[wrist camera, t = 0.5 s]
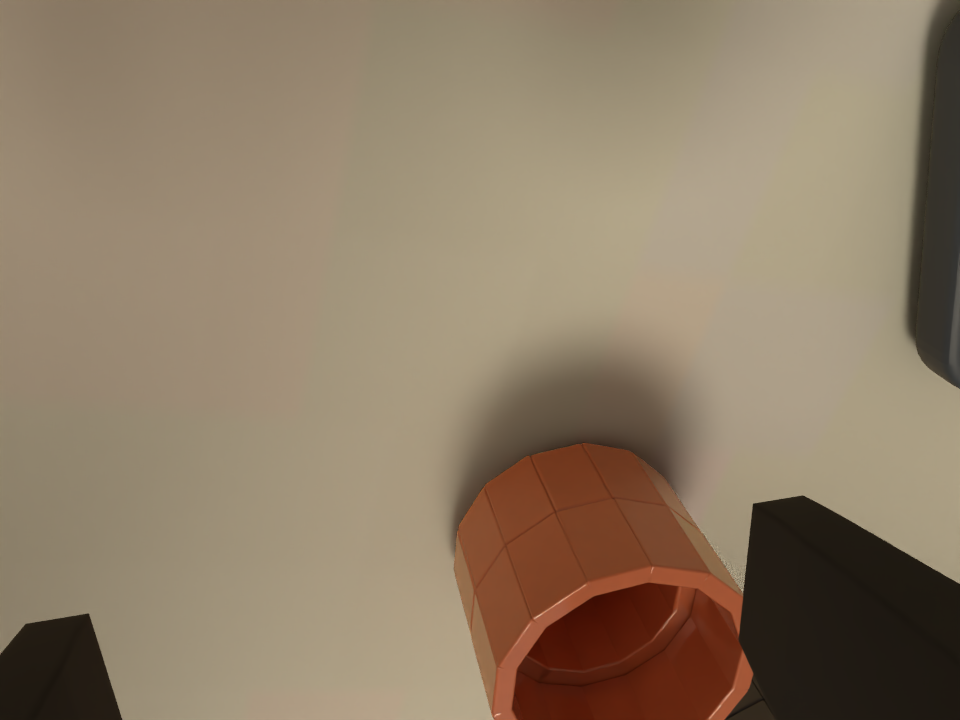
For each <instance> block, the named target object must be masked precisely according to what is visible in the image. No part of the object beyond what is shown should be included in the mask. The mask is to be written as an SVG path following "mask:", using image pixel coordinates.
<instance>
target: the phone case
mask: <svg viewBox="0 0 960 720" xmlns="http://www.w3.org/2000/svg"><path fill="white" fill-rule="evenodd" d="M916 347H917V351H918V354H919V356H920V358H921V360H922V361H923V362H924V364H925V365H926V366H927V367H928V368H929V369H930V370H932V371H933V372H935V373H936V374H938V375H939V376H941V377H942V378H944V379H945V380H946V381H948V382H949V383H951V384H952V385H954V386H956V387H958V388H959V389H960V10H959V11H958V12H957V14H956V15H955V17H954V18H953V20H952V21H951V22H950V24H949V26H948V28H947V30H946V32H945V34H944V36H943V39H942V42H941V45H940V49H939V54H938V60H937V70H936V83H935V95H934V108H933V120H932V133H931V146H930V158H929V171H928V184H927V196H926V209H925V221H924V234H923V247H922V259H921V272H920V285H919V297H918V310H917V322H916Z"/></svg>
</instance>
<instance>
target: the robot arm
mask: <svg viewBox="0 0 960 720" xmlns="http://www.w3.org/2000/svg"><path fill="white" fill-rule="evenodd" d="M738 641H739V643H740V645H741V647H742V649H743V652H744V654H745V656H746V658H747V661H748V663H749V665H750V667H751V670H752V672H753V674H754V676H755V678H756V681H757V683H758V685H759V687H760V689H761V691H762V693H763V695H764V697H765V700H766V702H767V704H768V706H769V708H770V710H771V712H772V714H773V716H774V718H775V720H960V584H959V583H957V582H955V581H953V580H952V579H950V578H948V577H946V576H945V575H943V574H941V573H939V572H938V571H936V570H934V569H932V568H931V567H929V566H927V565H925V564H924V563H922V562H920V561H918V560H917V559H915V558H913V557H911V556H910V555H908V554H906V553H905V552H903V551H901V550H899V549H898V548H896V547H894V546H893V545H891V544H889V543H887V542H886V541H884V540H882V539H880V538H879V537H877V536H875V535H874V534H872V533H870V532H868V531H867V530H865V529H863V528H861V527H860V526H858V525H856V524H855V523H853V522H851V521H849V520H848V519H846V518H844V517H842V516H840V515H839V514H837V513H835V512H833V511H832V510H830V509H828V508H826V507H824V506H822V505H821V504H819V503H817V502H815V501H813V500H811V499H809V498H807V497H805V496H797V497H791V498H785V499H779V500H773V501H767V502H761V503H755V504H753V510H752V519H751V528H750V537H749V547H748V556H747V565H746V574H745V584H744V593H743V602H742V612H741V621H740V630H739V639H738ZM0 720H122V718H121V715H120V711H119V708H118V705H117V702H116V699H115V695H114V692H113V689H112V686H111V683H110V679H109V676H108V673H107V670H106V667H105V664H104V660H103V657H102V654H101V651H100V648H99V644H98V641H97V638H96V635H95V632H94V628H93V625H92V622H91V619H90V616H89V614H83V615H77V616H71V617H65V618H59V619H53V620H47V621H41V622H34V623H28V624H25V625H24V627H23V628H22V629H21V630H20V631H19V633H18V634H17V635H16V636H15V637H14V639H13V640H12V641H11V642H10V643H9V645H8V646H7V647H6V648H5V650H4V651H3V652H2V653H1V654H0Z"/></svg>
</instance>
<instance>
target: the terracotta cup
mask: <svg viewBox="0 0 960 720" xmlns="http://www.w3.org/2000/svg"><path fill="white" fill-rule="evenodd" d="M454 572H455V577H456V581H457V585H458V588H459V592H460V596H461V600H462V603H463V607H464V611H465V615H466V618H467V622H468V626H469V630H470V633H471V638H472V642H473V646H474V650H475V654H476V658H477V661H478V665H479V669H480V673H481V676H482V680H483V684H484V688H485V691H486V695H487V699H488V703H489V706H490V710H491V714H492V717H493V718H494V720H725V719H726V717H727V716H728V715H729V714H730V713H731V711H732V710H733V709H734V708H735V707H736V705H737V704H738V703H739V702H740V700H741V699H742V698H743V697H744V696H745V694H746V693H747V692H748V689H749V688H750V685H751V681H752V678H753V672H752V670H751V667H750V665H749V663H748V661H747V658H746V656H745V654H744V652H743V649H742V647H741V645H740V643H739V641H738V639H739V630H740V621H741V612H742V602H743V592H742V591H741V590H740V588H739V587H738V585H737V584H736V582H735V581H734V579H733V578H732V576H731V575H730V573H729V572H728V570H727V569H726V567H725V566H724V564H723V563H722V561H721V560H720V558H719V557H718V556H717V554H716V553H715V551H714V550H713V548H712V547H711V545H710V544H709V542H708V541H707V539H706V538H705V536H704V535H703V534H702V533H701V531H700V529H699V528H698V527H697V525H696V524H695V522H694V521H693V519H692V518H691V516H690V515H689V513H688V512H687V510H686V509H685V507H684V506H683V504H682V503H681V501H680V500H679V498H678V497H677V495H676V494H675V493H674V491H673V490H672V488H671V487H670V485H669V484H668V482H667V481H666V479H665V478H664V476H662V475H661V474H660V473H659V472H657V471H656V470H655V469H653V468H652V467H651V466H650V465H648V464H647V463H646V462H645V461H643V460H642V459H641V458H639V457H638V456H637V455H636V454H634V453H633V452H630V451H629V450H623V449H618V448H612V447H606V446H601V445H595V444H589V443H582V445H581V444H575V445H571V446H566V447H562V448H558V449H554V450H549V451H545V452H541V453H536V454H533V455H531V456H529V455H527V456H526V457H524V458H523V459H521V460H520V461H518V462H517V463H516V464H514V465H513V466H511V467H510V468H508V469H507V470H505V471H504V472H502V473H501V474H500V475H498V476H497V477H495V478H494V479H492V480H491V481H489V482H488V483H486V484H485V487H483V488H482V490H481V491H480V493H479V494H478V496H477V498H476V499H475V501H474V502H473V504H472V505H471V507H470V508H469V510H468V512H467V513H466V515H465V516H464V518H463V519H462V521H461V522H460V524H459V526H458V531H457V537H456V549H455V561H454Z"/></svg>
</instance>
